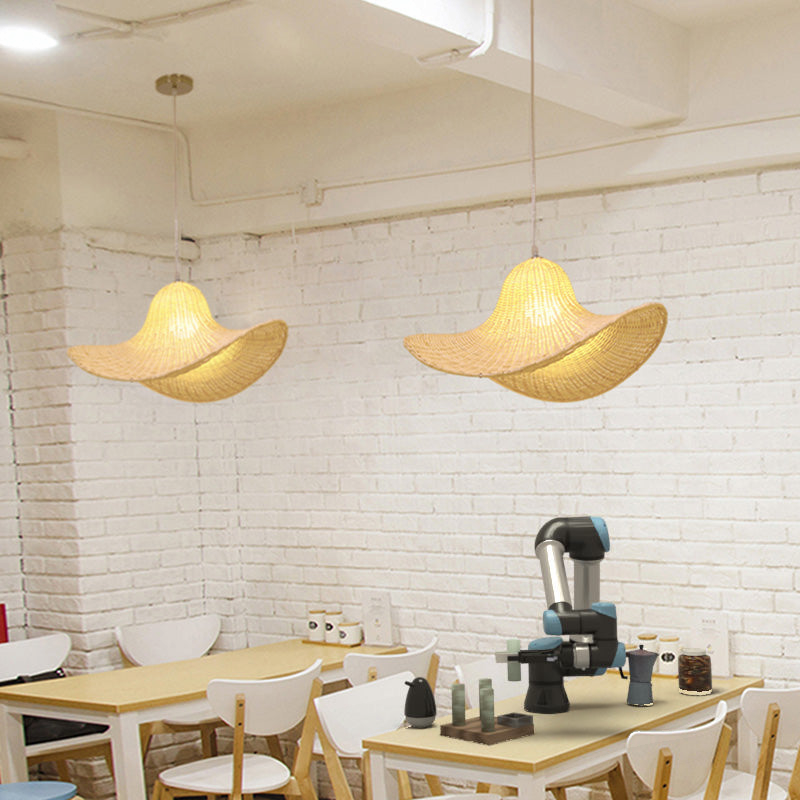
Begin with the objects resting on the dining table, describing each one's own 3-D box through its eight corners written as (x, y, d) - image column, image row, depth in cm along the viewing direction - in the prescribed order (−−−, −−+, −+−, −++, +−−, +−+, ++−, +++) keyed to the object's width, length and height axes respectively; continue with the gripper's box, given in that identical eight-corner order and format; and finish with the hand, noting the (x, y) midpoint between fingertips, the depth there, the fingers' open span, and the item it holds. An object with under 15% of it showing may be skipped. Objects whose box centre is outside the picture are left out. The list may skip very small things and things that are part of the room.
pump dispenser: (398, 725, 371) (397, 676, 372) (427, 721, 375) (426, 673, 376) (413, 730, 362) (412, 681, 363) (442, 727, 366) (441, 677, 367)
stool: (440, 735, 355) (439, 685, 356) (485, 724, 368) (484, 676, 369) (488, 745, 340) (487, 692, 341) (534, 734, 354) (532, 683, 355)
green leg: (505, 680, 355) (504, 640, 356) (516, 678, 356) (515, 638, 357) (512, 681, 351) (511, 641, 352) (523, 680, 353) (522, 640, 354)
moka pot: (666, 705, 392) (664, 645, 394) (624, 709, 388) (622, 648, 390) (653, 700, 401) (651, 641, 403) (612, 703, 397) (610, 644, 399)
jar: (719, 693, 412) (718, 650, 413) (696, 697, 406) (694, 653, 407) (695, 688, 422) (693, 646, 423) (671, 692, 416) (670, 649, 417)
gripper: (576, 672, 345) (497, 674, 346) (570, 664, 362) (495, 665, 363) (576, 647, 345) (496, 648, 346) (570, 639, 362) (494, 640, 363)
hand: (495, 657), depth 355 cm, fingers closed on green leg, 4 cm apart
